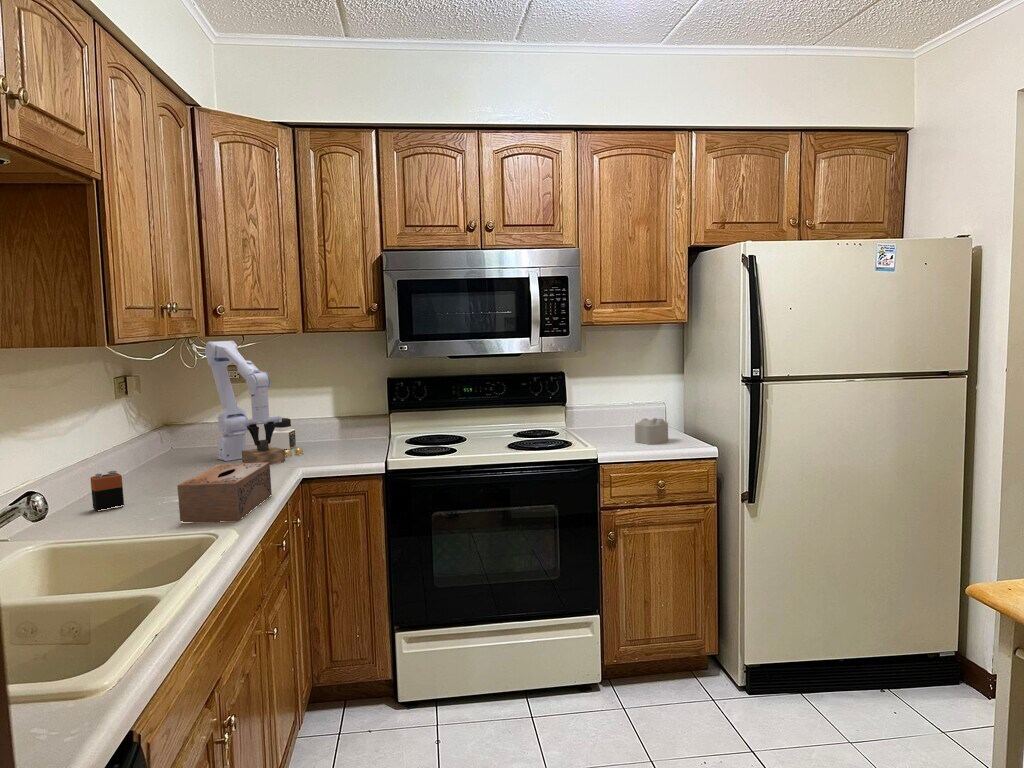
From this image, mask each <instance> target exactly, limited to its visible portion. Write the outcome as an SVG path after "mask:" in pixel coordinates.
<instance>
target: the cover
mask: <svg viewBox="0 0 1024 768" xmlns="http://www.w3.org/2000/svg"><path fill="white" fill-rule="evenodd" d="M269 445H270V444H268V440H266V439H259V445H258V446H256V448H252V449H247V450H244V451H242V459H241V460H242V462H243V463H265V462H270V465H273V464H272V463H275V464H278V463H277V462H281V463H285V462H286V457H285V451H284V449H280V448H276V447H272V445H271V446H269ZM284 461H285V462H284ZM242 462H241V463H242Z"/></svg>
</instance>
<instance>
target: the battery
mask: <svg viewBox="0 0 1024 768" xmlns="http://www.w3.org/2000/svg"><path fill="white" fill-rule="evenodd" d="M89 479H90V488H91V489H90V491H91V500H92V508H94V509H93V510H95V509H96V510H101V509H107V508H111V507H115V506H121V505H124V506H125V498H124V487H123V477H122V474H120V473H118V471H117V470H109V471H107V474H102V473H100V472H99V473H95V474H94V476H91V477H90V478H89ZM96 510H95V511H96Z"/></svg>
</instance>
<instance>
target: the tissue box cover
mask: <svg viewBox="0 0 1024 768" xmlns="http://www.w3.org/2000/svg"><path fill="white" fill-rule="evenodd" d="M271 479H272V477H271V464H270V462H265V463H242V462H241V463H221V464H220V463H219V464H216V465H215V466H212V467H210V468H207V470H205V471H203V472H201V473H199V474H197V475H194V476H193V477H191V478H189V479H188V480H186V481H183V482H181V483H179V484H178V485H177V496H178V498H177V499H178V509H179V511H178V512H179V520H180V521H183V522H214V523H221V522H220V521H239V520H240V519H241V518H242V517H244V516H245V515H246V514H248V513H249V512H250V511H251V510H253V509H254V508H255V507H256V506H258V505H259V504H260V503H262V502H263V501H264V500H266V499H267V498H268V497H269V496H270V495H272V496H273V494H272V493H273V492H272V480H271ZM268 499H269V498H268ZM268 499H267V500H268ZM267 500H266V501H267ZM264 502H265V501H264ZM264 502H263V503H264ZM263 503H262V504H263ZM259 506H260V505H259ZM259 506H258V507H259ZM254 510H255V509H254ZM254 510H253V511H254ZM250 513H251V512H250ZM250 513H249V514H250ZM249 514H248V515H249ZM245 517H246V516H245ZM245 517H244V518H245ZM241 520H242V519H241ZM241 520H240V521H241ZM240 521H239V522H240Z"/></svg>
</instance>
